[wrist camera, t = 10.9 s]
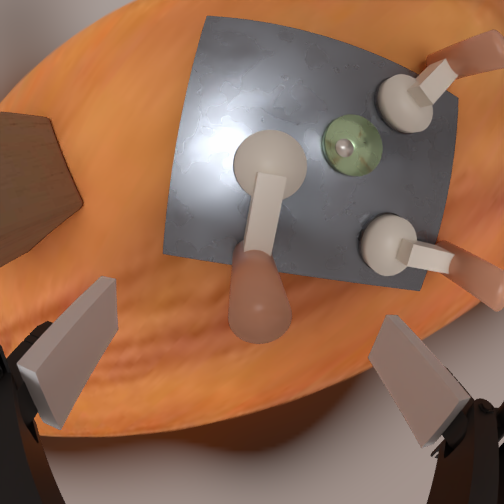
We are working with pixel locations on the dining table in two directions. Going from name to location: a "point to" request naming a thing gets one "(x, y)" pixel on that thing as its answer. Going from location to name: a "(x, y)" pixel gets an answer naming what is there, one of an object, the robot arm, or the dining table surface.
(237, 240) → the base plate
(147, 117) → the dining table surface
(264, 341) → the knob
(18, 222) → the wooden block
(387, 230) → the knob
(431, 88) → the knob
